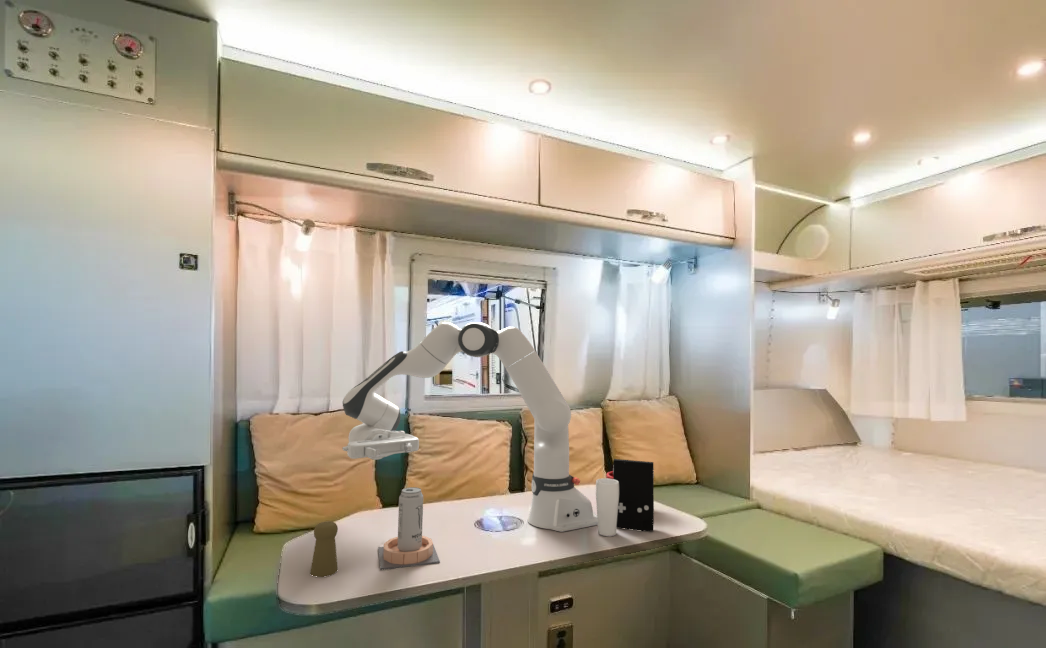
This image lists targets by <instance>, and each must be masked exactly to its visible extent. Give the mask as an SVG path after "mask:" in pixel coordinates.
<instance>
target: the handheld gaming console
mask: <svg viewBox="0 0 1046 648" xmlns="http://www.w3.org/2000/svg"><path fill="white" fill-rule="evenodd" d="M612 467H613V468H612V471H613V479H614V480H617V481H619V504H618V515H617V528H619V529H622V528H625V529H624V530H629V529H633V530H632V531H637V530H641V531H640V532H654V519H655V517H654V516H655V513H654V511H655V509H654V507H655V505H654V504H655V503H654V502H655V500H654V494H655V493H654V488H655V487H654V483H655V482H654V477H655V476H654V475H655V472H654V470H655V469H654V468H655V467H654V462H653V461H644V460H643V461H641V460H633V459H632V460H631V459H630V460H629V459H621V458H620V459H618V458H614V459H613V465H612Z"/></svg>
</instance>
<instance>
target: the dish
mask: <svg viewBox="0 0 1046 648" xmlns="http://www.w3.org/2000/svg"><path fill="white" fill-rule="evenodd" d="M397 545H398V536H395V537H392V538H389V539H388V540H387V541H385V542H384V543H383V546H378V548H377V549H378V558H379V561H378V562H379V569H380V571H382V569H383V570H384V569H385V570H391V569H392V568H393V569H399V567H401V568H407V567H408V566H409V567H415V566H416V565H418V566H425V565H426V566H427V565H434V564H440V561H441V560H440V558H439V556H438V553H437V550H436V548H435V544H434V542H433V540H432V538H430V537H427V536H425V535H422V547H421V548H420V549H419V550H417V551H410V552H400V551H399V549H398V548H397ZM393 569H392V570H393Z"/></svg>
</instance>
